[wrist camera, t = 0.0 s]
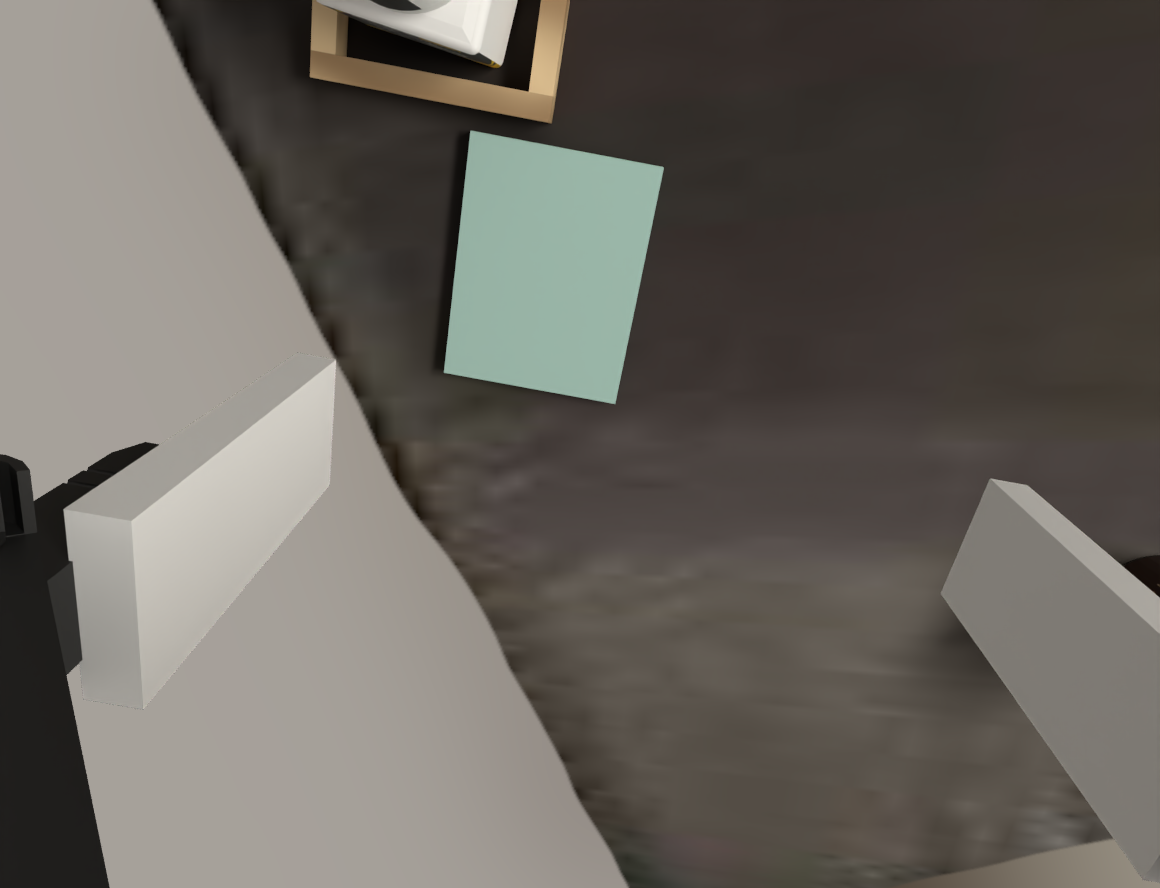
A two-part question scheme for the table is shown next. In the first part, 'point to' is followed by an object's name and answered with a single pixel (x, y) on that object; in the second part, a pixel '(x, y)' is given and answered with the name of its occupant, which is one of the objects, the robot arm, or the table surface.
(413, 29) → the medicine bottle
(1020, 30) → the table surface
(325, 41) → the oak cradle
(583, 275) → the rubber mat
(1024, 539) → the robot arm
